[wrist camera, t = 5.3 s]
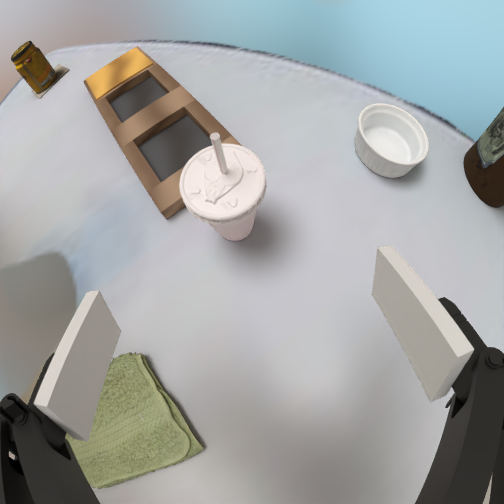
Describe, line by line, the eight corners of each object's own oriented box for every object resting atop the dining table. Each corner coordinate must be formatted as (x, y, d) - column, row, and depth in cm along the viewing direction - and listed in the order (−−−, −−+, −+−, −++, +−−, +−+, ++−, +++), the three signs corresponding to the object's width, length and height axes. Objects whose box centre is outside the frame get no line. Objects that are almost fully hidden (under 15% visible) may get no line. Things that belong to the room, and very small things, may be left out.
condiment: (31, 91, 40) (5, 59, 28) (59, 64, 41) (36, 30, 29) (40, 99, 38) (10, 63, 27) (70, 70, 40) (45, 32, 28)
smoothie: (275, 206, 30) (280, 117, 16) (253, 263, 28) (242, 206, 15) (218, 188, 30) (188, 98, 17) (194, 242, 29) (140, 175, 16)
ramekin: (361, 184, 30) (373, 165, 26) (341, 123, 32) (348, 101, 28) (423, 181, 30) (439, 164, 26) (400, 124, 32) (411, 104, 28)
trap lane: (166, 219, 30) (159, 211, 28) (88, 88, 37) (82, 80, 35) (249, 162, 31) (248, 151, 29) (141, 54, 38) (137, 45, 36)
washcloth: (212, 444, 24) (206, 457, 21) (103, 486, 22) (92, 496, 19) (142, 341, 27) (128, 342, 24) (48, 401, 25) (33, 405, 22)
